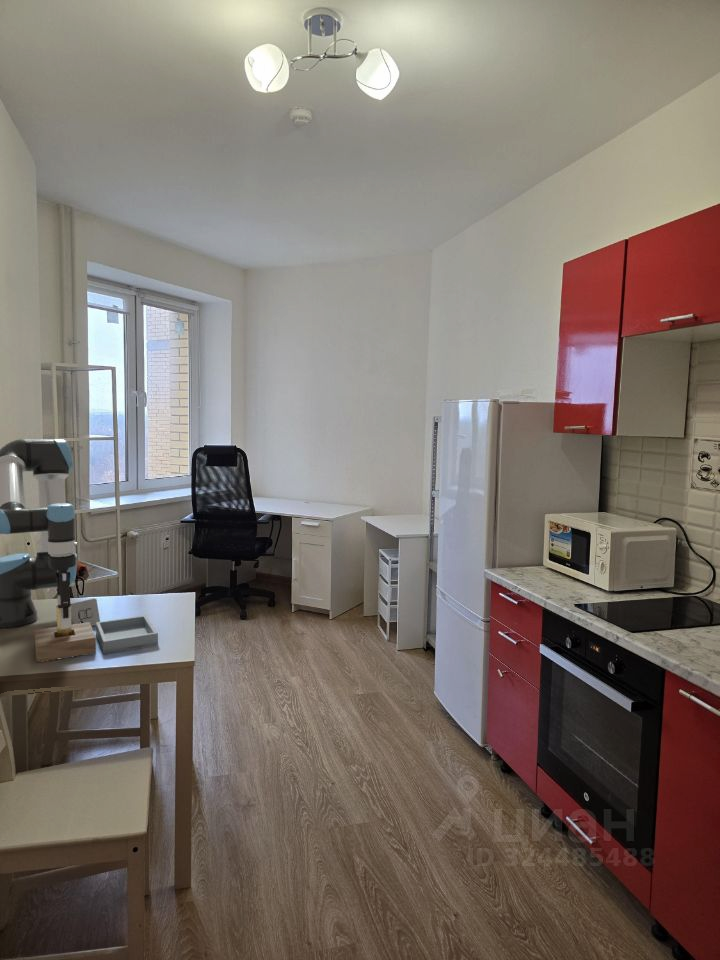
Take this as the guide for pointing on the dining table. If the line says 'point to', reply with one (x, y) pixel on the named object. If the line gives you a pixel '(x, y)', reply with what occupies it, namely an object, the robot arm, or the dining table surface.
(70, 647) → the block
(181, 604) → the dining table surface
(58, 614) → the pin
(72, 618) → the electrical switch
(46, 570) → the robot arm
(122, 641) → the tray
